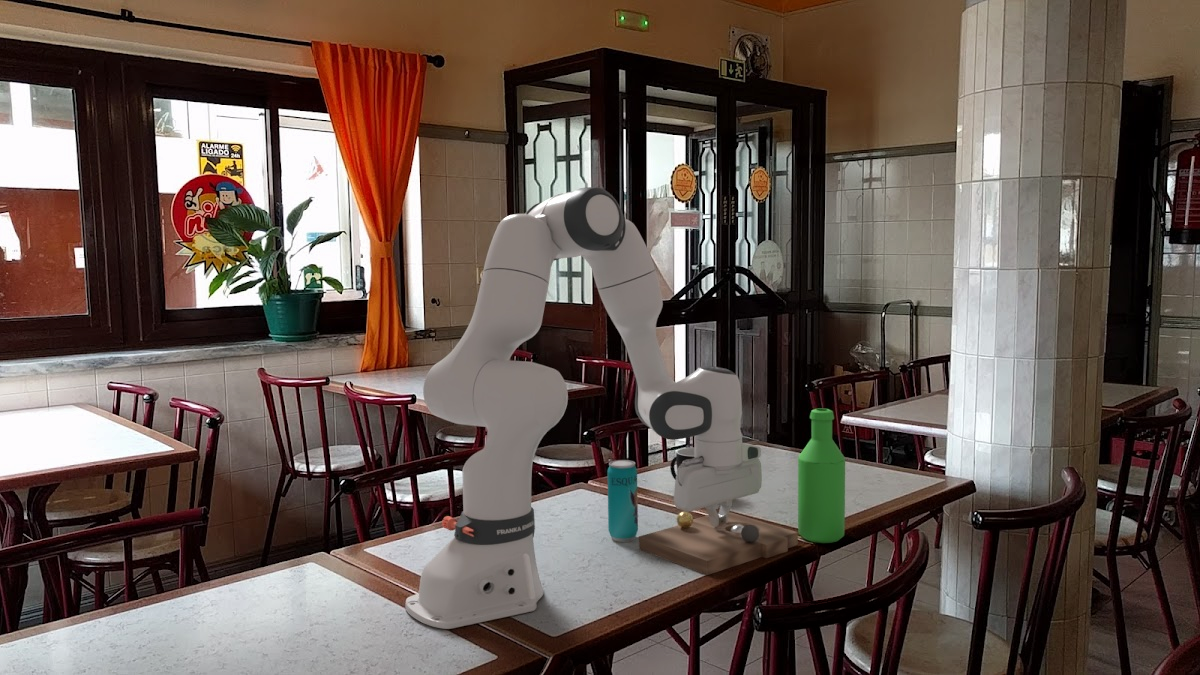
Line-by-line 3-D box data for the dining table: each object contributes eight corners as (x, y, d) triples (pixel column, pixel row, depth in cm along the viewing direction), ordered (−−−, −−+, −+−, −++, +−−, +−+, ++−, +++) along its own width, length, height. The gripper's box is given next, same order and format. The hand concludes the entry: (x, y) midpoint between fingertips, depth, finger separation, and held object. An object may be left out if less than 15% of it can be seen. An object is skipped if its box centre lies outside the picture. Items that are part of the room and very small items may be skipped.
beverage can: (635, 543, 176) (634, 467, 174) (606, 542, 177) (604, 466, 175) (640, 534, 181) (639, 459, 180) (611, 533, 182) (610, 459, 181)
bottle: (852, 536, 178) (854, 409, 175) (830, 547, 171) (831, 415, 169) (812, 527, 184) (813, 404, 181) (789, 538, 177) (789, 410, 175)
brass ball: (684, 531, 174) (684, 515, 174) (673, 527, 177) (673, 511, 177) (696, 528, 176) (696, 511, 176) (685, 524, 179) (685, 508, 179)
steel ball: (736, 534, 173) (746, 523, 175) (724, 530, 176) (734, 519, 177) (742, 546, 175) (752, 535, 176) (730, 542, 177) (740, 531, 179)
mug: (724, 495, 208) (724, 451, 207) (698, 503, 202) (698, 458, 201) (684, 485, 217) (683, 443, 216) (658, 493, 211) (658, 450, 210)
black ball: (750, 546, 165) (750, 528, 165) (737, 541, 168) (737, 524, 168) (762, 542, 167) (762, 525, 167) (749, 538, 170) (749, 521, 170)
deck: (711, 576, 157) (711, 562, 157) (635, 548, 173) (635, 535, 173) (801, 546, 172) (801, 533, 172) (724, 522, 188) (724, 510, 188)
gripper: (689, 464, 162) (690, 540, 164) (767, 446, 175) (767, 517, 176) (665, 458, 167) (666, 532, 168) (742, 441, 180) (743, 510, 181)
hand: (718, 524), depth 172 cm, fingers closed
